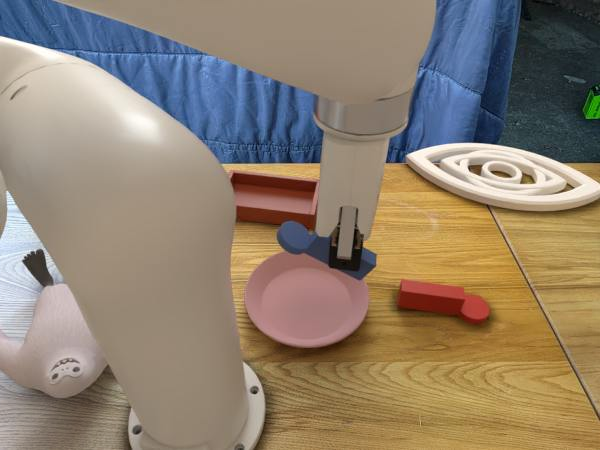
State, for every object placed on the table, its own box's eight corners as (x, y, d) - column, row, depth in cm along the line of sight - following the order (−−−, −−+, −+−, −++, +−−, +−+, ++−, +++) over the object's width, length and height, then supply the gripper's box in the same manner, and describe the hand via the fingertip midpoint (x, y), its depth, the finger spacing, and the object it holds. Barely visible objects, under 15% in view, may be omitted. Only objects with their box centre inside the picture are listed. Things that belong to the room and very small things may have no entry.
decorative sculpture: (405, 143, 78) (407, 136, 77) (581, 158, 75) (586, 150, 74) (409, 197, 67) (411, 189, 66) (615, 217, 64) (621, 208, 63)
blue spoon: (272, 245, 45) (286, 227, 43) (280, 221, 47) (293, 203, 45) (359, 287, 47) (376, 273, 45) (361, 262, 49) (377, 247, 47)
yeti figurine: (125, 213, 56) (193, 318, 43) (135, 253, 60) (200, 360, 47) (-65, 273, 46) (-50, 429, 34) (-38, 315, 50) (-15, 469, 38)
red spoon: (485, 301, 53) (493, 285, 51) (489, 326, 50) (497, 310, 48) (397, 289, 54) (401, 273, 52) (397, 313, 51) (401, 297, 49)
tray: (321, 193, 67) (322, 179, 66) (313, 229, 62) (314, 215, 60) (231, 183, 69) (230, 169, 67) (216, 217, 63) (214, 202, 61)
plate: (258, 371, 46) (257, 360, 44) (236, 270, 56) (234, 259, 55) (387, 340, 49) (390, 329, 47) (343, 249, 59) (344, 238, 57)
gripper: (326, 55, 40) (319, 208, 53) (296, 150, 29) (296, 316, 42) (410, 61, 39) (383, 215, 52) (413, 162, 28) (377, 327, 41)
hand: (344, 259), depth 47 cm, fingers closed on blue spoon, 1 cm apart
